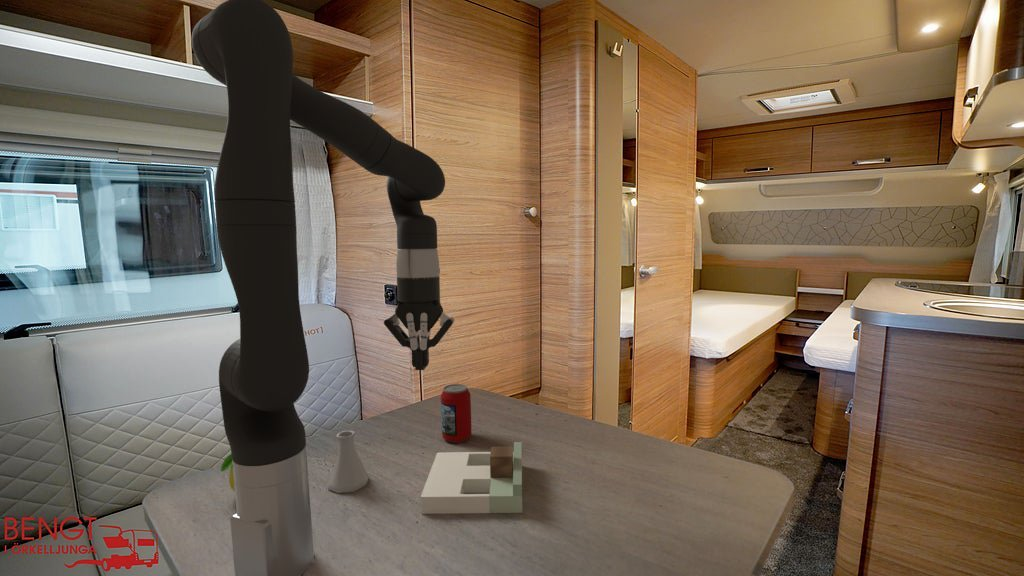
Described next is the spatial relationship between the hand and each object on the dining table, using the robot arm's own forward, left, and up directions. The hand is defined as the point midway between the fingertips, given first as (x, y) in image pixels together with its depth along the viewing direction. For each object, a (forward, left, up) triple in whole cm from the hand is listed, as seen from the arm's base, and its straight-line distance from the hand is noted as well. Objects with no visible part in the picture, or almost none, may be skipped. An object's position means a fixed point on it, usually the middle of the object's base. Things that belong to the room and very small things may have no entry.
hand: (420, 369), depth 88 cm
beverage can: (+21, +4, -23) cm, 31 cm away
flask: (-4, +14, -23) cm, 27 cm away
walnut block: (+4, -14, -19) cm, 24 cm away
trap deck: (+2, -9, -22) cm, 24 cm away
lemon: (-13, +29, -23) cm, 39 cm away
